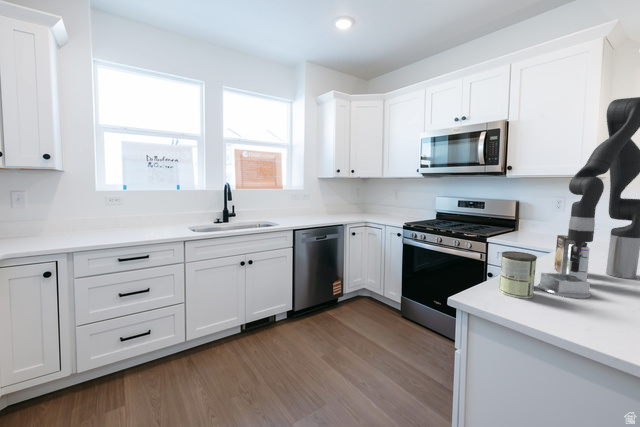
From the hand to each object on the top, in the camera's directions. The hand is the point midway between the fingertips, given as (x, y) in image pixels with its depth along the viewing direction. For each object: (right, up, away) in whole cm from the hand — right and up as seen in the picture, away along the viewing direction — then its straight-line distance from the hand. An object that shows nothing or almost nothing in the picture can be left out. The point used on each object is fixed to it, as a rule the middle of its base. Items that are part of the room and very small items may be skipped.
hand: (576, 269), depth 118 cm
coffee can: (-32, -6, -12) cm, 34 cm away
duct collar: (-12, -6, -8) cm, 16 cm away
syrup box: (0, -5, +1) cm, 5 cm away
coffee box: (+8, -4, +14) cm, 17 cm away
